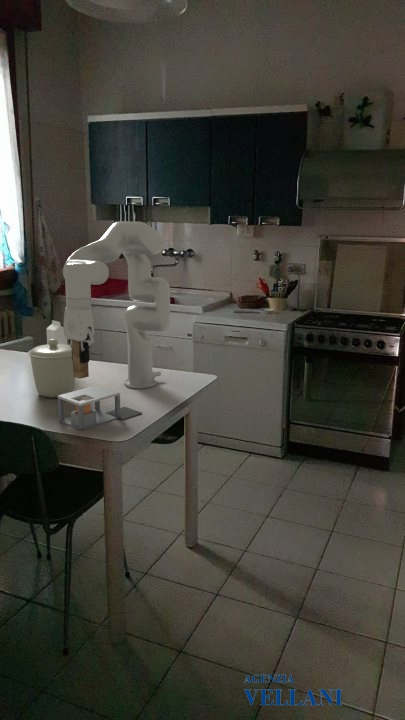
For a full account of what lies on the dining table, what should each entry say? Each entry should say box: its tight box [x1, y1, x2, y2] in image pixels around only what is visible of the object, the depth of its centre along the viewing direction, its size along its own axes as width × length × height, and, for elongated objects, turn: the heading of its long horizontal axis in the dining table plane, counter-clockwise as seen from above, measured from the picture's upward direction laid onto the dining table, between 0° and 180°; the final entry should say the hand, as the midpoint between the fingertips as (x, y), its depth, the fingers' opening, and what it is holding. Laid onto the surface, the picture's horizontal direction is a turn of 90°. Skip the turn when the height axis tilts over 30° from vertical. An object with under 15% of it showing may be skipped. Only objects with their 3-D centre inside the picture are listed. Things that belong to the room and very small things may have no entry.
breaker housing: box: [57, 384, 121, 431], centre depth 192 cm, size 16×12×9 cm
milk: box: [46, 319, 68, 345], centre depth 245 cm, size 6×6×22 cm
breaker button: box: [75, 399, 91, 415], centre depth 188 cm, size 3×3×4 cm
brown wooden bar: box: [72, 340, 90, 379], centre depth 183 cm, size 3×3×14 cm
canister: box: [27, 339, 76, 399], centre depth 217 cm, size 18×18×21 cm
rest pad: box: [107, 406, 143, 421], centre depth 199 cm, size 9×9×1 cm
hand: (80, 360), depth 184 cm, fingers closed on brown wooden bar, 3 cm apart
